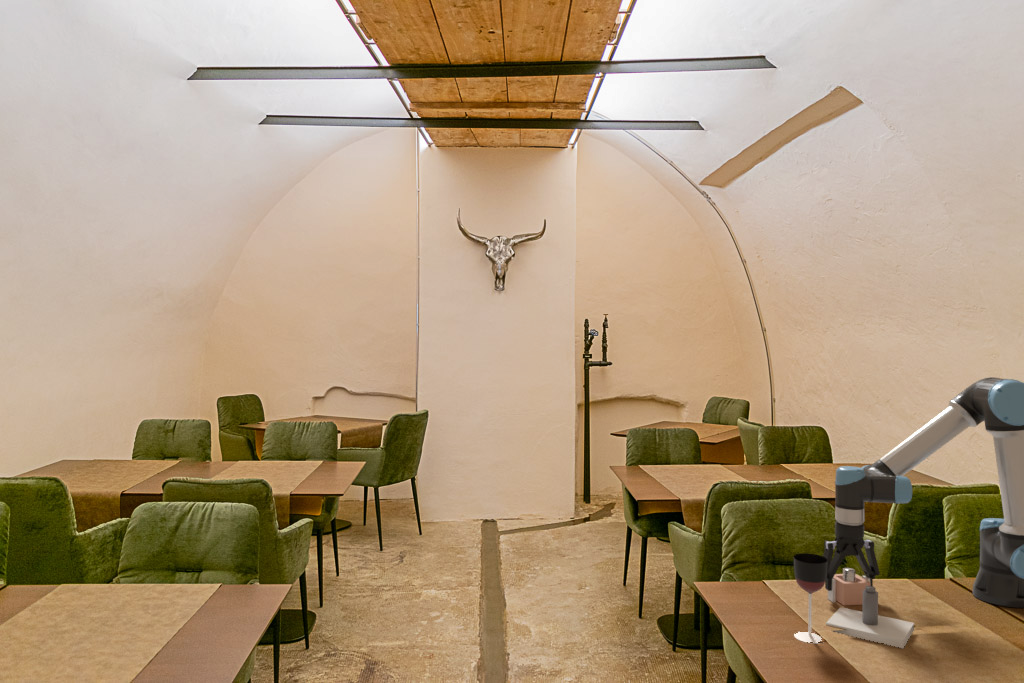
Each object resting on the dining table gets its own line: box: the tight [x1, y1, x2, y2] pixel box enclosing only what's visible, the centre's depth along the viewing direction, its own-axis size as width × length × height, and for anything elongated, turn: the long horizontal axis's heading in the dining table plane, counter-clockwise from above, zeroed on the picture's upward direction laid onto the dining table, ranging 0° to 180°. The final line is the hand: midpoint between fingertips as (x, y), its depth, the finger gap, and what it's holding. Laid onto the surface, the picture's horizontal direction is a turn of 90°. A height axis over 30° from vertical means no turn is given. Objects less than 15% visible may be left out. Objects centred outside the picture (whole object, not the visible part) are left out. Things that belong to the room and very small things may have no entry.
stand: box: [842, 567, 856, 582], centre depth 211 cm, size 7×7×10 cm
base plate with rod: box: [825, 585, 915, 649], centre depth 193 cm, size 18×14×11 cm
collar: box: [833, 573, 871, 606], centre depth 211 cm, size 8×8×6 cm
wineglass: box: [793, 552, 828, 644], centre depth 189 cm, size 8×9×20 cm
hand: (848, 600), depth 211 cm, fingers open, 10 cm apart
